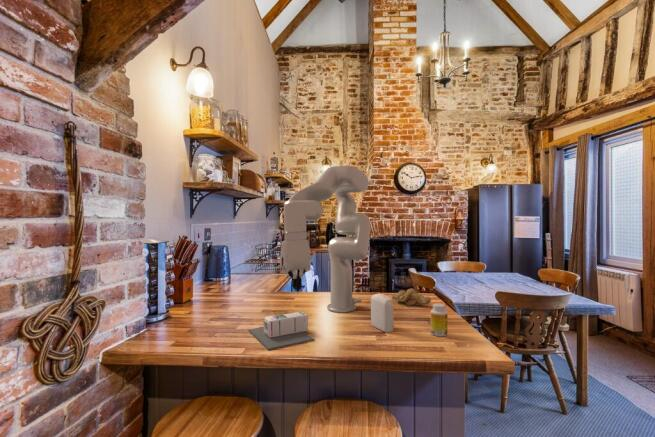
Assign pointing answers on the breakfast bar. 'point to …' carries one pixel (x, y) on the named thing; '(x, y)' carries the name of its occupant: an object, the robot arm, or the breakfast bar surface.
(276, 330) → the syrup box
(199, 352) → the breakfast bar surface
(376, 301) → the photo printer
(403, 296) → the ginger root
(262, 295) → the breakfast bar surface
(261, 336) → the mat
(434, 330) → the supplement bottle
